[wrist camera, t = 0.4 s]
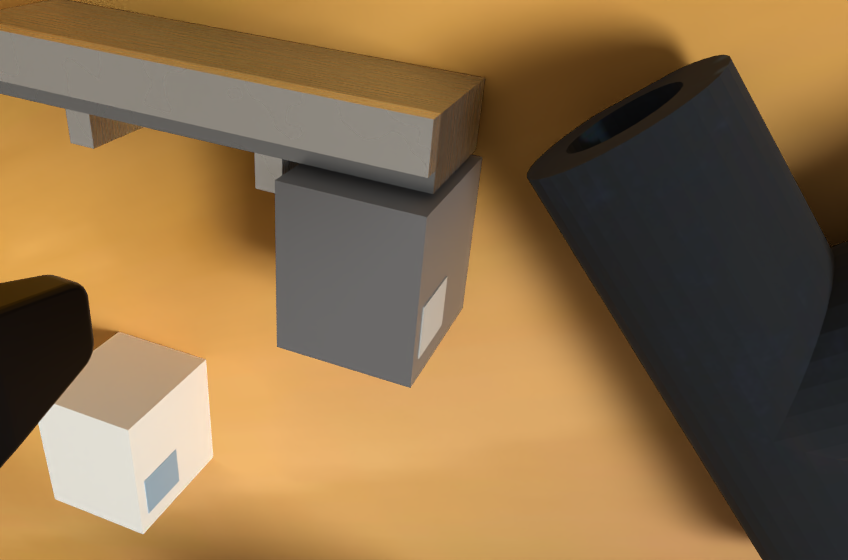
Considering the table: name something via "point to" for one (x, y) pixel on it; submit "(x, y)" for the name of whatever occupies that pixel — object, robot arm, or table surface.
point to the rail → (240, 93)
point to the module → (129, 431)
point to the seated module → (371, 267)
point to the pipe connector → (719, 294)
